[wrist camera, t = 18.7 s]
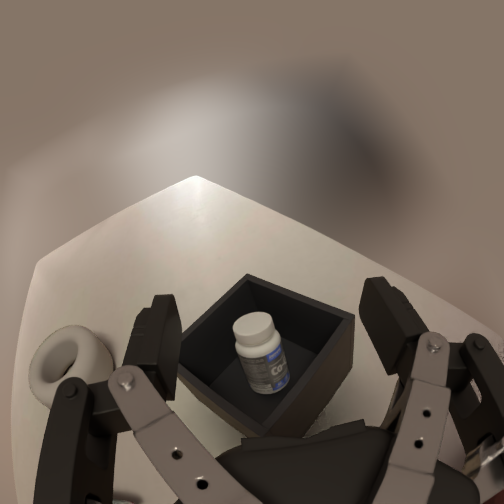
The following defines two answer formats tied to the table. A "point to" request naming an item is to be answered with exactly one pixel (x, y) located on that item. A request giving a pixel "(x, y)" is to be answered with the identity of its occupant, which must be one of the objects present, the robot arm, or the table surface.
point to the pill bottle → (261, 353)
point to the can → (496, 499)
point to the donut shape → (68, 361)
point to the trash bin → (296, 352)
